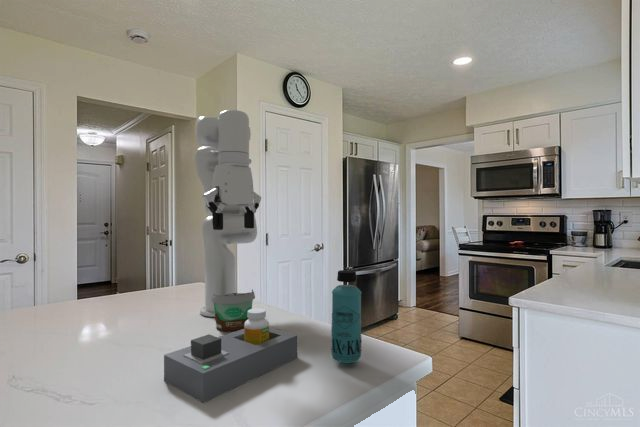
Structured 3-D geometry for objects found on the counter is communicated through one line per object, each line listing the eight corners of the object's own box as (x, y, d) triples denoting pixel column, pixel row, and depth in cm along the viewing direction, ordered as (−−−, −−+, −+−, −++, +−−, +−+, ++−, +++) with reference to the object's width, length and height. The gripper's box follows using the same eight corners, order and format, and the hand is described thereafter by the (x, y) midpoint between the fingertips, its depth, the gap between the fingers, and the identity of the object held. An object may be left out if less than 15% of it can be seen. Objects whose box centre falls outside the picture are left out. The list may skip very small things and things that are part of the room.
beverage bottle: (329, 358, 79) (329, 268, 79) (359, 357, 80) (358, 267, 80) (333, 371, 73) (332, 273, 73) (365, 369, 73) (364, 272, 73)
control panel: (258, 344, 88) (257, 311, 88) (297, 357, 80) (297, 321, 80) (164, 380, 69) (163, 339, 69) (203, 402, 61) (203, 355, 61)
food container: (215, 336, 94) (215, 298, 94) (211, 329, 99) (210, 293, 99) (260, 329, 99) (260, 293, 99) (254, 323, 105) (254, 289, 105)
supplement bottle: (264, 360, 76) (264, 314, 76) (240, 358, 77) (240, 313, 77) (272, 350, 81) (272, 307, 81) (249, 348, 82) (249, 306, 82)
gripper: (250, 165, 99) (250, 227, 99) (194, 158, 86) (195, 229, 86) (269, 163, 95) (269, 228, 95) (213, 155, 81) (213, 230, 81)
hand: (234, 228), depth 90 cm, fingers open, 9 cm apart
